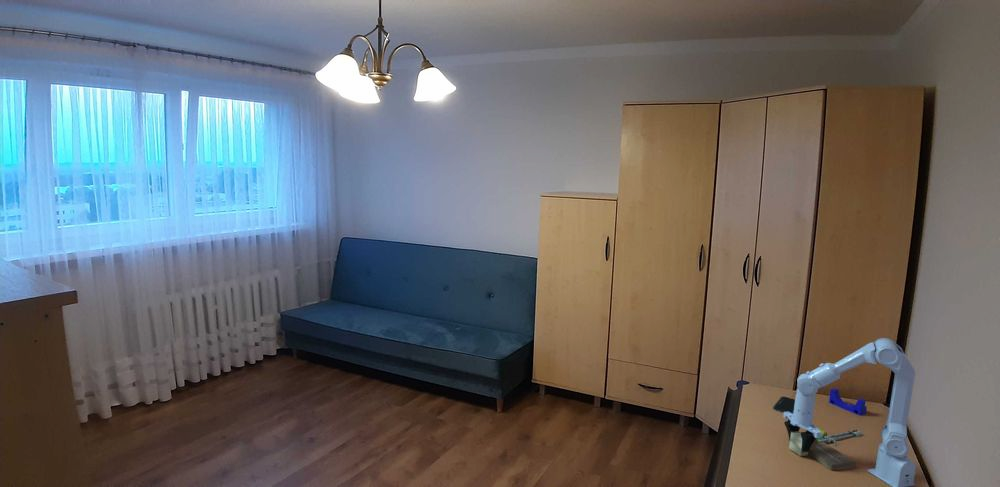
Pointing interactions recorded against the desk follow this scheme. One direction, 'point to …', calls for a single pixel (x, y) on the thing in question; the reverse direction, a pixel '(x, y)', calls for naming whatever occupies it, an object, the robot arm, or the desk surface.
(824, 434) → the flamethrower
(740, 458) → the desk surface
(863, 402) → the blue u-shaped bracket
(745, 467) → the desk surface
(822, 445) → the brown flat block
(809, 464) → the desk surface
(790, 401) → the phone
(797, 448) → the joiner mallet
